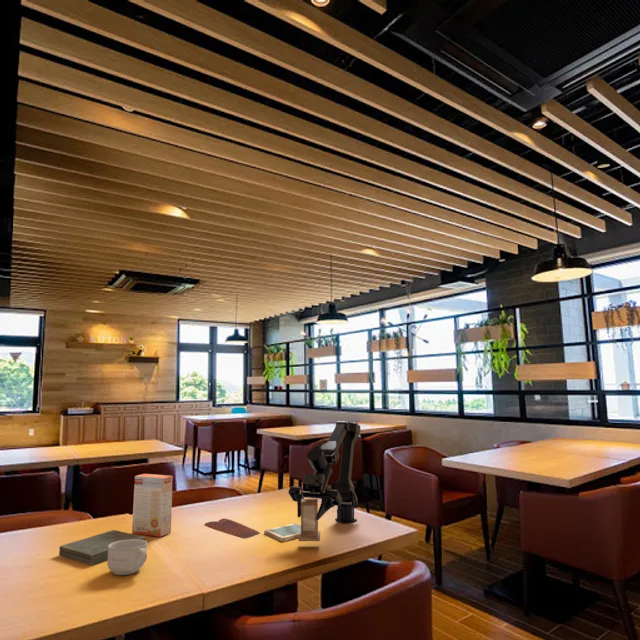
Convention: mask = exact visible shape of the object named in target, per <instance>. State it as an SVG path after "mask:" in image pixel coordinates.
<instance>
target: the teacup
mask: <svg viewBox="0 0 640 640" xmlns="http://www.w3.org/2000/svg"><path fill="white" fill-rule="evenodd" d="M147 545H148V541H146V539H145V540H138V539H131V540H122V541H117V542H114V543H111V544H109V546H108V560H107V569H109V571H111V572H112V574H114V575H117V576H126V575H127V576H128V575H132V574H135V573H137V572H138V571H139V570H140V569H141V568H142V567H143V566H144V565H145V563H146V561H147V558H148V552H147Z"/></svg>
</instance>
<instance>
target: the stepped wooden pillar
mask: <svg viewBox="0 0 640 640" xmlns="http://www.w3.org/2000/svg"><path fill="white" fill-rule="evenodd" d="M318 501H319V499H316V498H304V499H302V500H301V516H300V525H301V531H300V534H299V538H298V542H320V540H321V530H319V520H317V519H316V518H317V513H318V511H319V508H318V507H319V506H318V505H319V504H318Z"/></svg>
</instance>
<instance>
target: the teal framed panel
mask: <svg viewBox="0 0 640 640" xmlns="http://www.w3.org/2000/svg"><path fill="white" fill-rule="evenodd" d="M263 531H264V532H263V533H264V534H265V535H266V536H269V537H271V538H273V539H275V540H277V541H280V542H282V543H283V542H289V541H290V540H294V539H299V534H300V531H301V524H298V523H295V522H294V523H289V524H286V525H280V526H277V527H273V528H269V529H264V530H263Z"/></svg>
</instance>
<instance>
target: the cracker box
mask: <svg viewBox="0 0 640 640" xmlns="http://www.w3.org/2000/svg"><path fill="white" fill-rule="evenodd" d="M173 480H174V479H173V475H168V474H166V475H165V474H153V473H152V474H151V473H142V474H138V475H134V486H133V487H134V489H133V502H132V503H133V507H132V527H131V528H132V529H131V532H132V533H131V534H135V535H142V536H143V535H144V536H151V537H157V538H162V537H163V536H166V535H169V534H171V532H172V510H173V508H172V506H173V505H172V504H173Z"/></svg>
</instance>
